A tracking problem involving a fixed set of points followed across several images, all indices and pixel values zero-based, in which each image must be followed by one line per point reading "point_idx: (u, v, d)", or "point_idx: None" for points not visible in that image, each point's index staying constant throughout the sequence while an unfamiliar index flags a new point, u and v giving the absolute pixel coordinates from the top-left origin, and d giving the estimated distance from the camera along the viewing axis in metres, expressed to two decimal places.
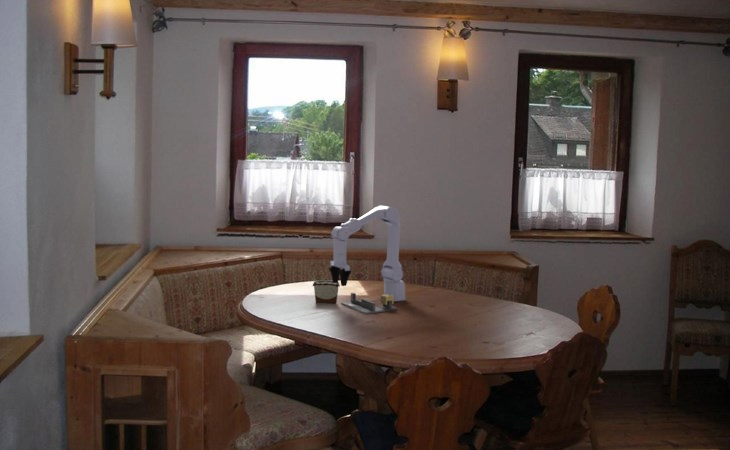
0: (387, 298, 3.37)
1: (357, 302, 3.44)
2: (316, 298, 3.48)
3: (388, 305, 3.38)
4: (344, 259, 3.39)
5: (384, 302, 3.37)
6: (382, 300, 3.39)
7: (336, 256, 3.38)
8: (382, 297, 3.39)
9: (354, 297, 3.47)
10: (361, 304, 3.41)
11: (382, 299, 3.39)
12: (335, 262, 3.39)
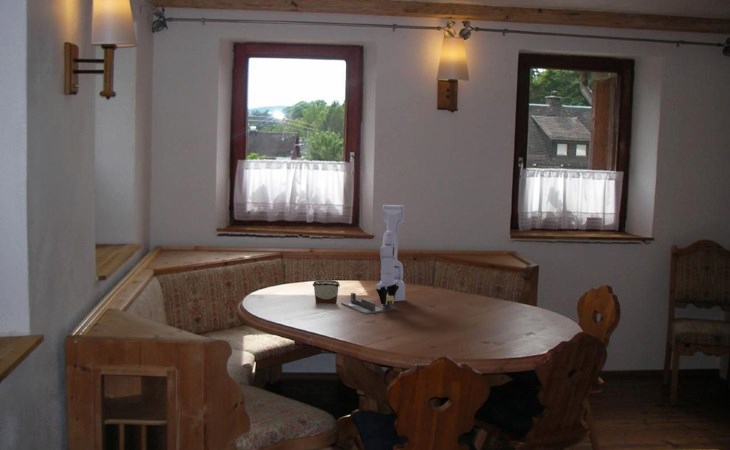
0: (387, 298, 3.37)
1: (357, 302, 3.44)
2: (316, 298, 3.48)
3: (388, 305, 3.38)
4: (385, 278, 3.36)
5: None
6: None
7: (381, 273, 3.38)
8: None
9: (354, 297, 3.47)
10: (361, 304, 3.41)
11: None
12: None
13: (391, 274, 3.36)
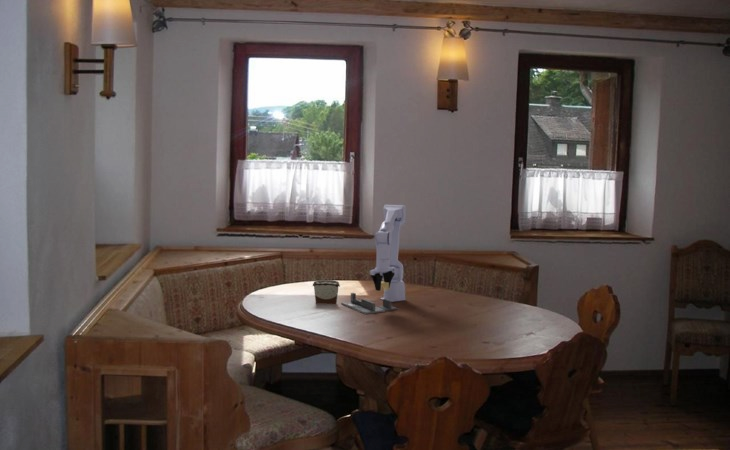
0: (382, 284, 3.35)
1: (357, 302, 3.44)
2: (316, 298, 3.48)
3: (388, 305, 3.38)
4: (380, 264, 3.33)
5: None
6: None
7: None
8: None
9: (354, 297, 3.47)
10: (361, 304, 3.41)
11: None
12: None
13: (386, 260, 3.33)
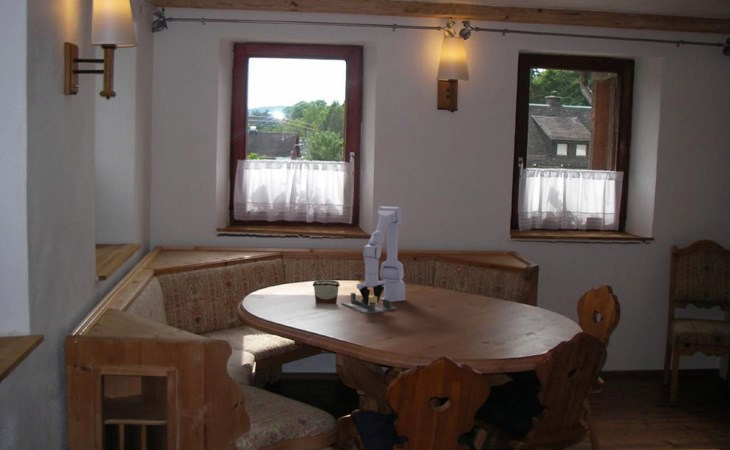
0: (370, 299, 3.32)
1: (357, 302, 3.44)
2: (316, 298, 3.48)
3: (388, 305, 3.38)
4: (367, 278, 3.31)
5: None
6: None
7: None
8: None
9: (354, 297, 3.47)
10: (361, 304, 3.41)
11: None
12: None
13: (374, 274, 3.31)
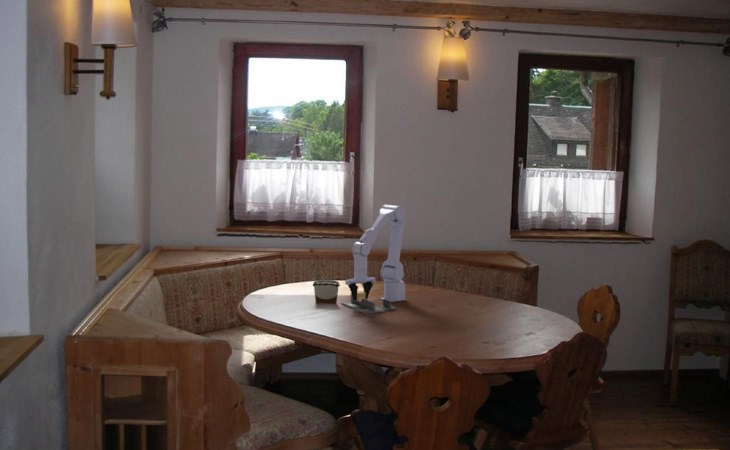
0: (358, 295, 3.40)
1: (357, 302, 3.44)
2: (316, 298, 3.48)
3: (388, 305, 3.38)
4: (356, 274, 3.39)
5: None
6: None
7: None
8: None
9: None
10: (361, 304, 3.41)
11: None
12: None
13: (362, 271, 3.38)
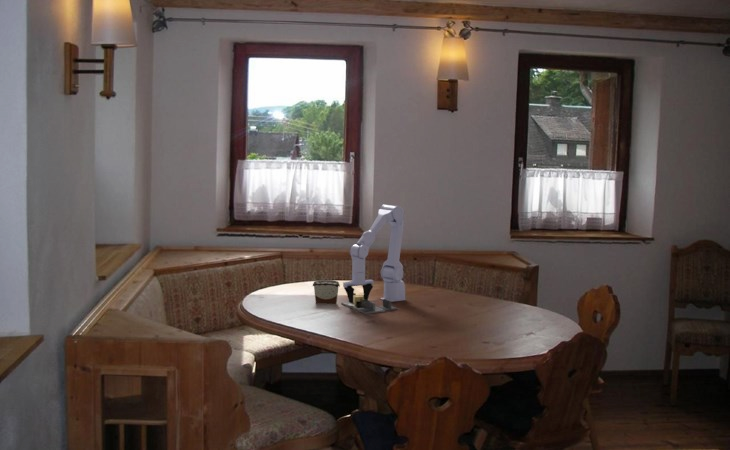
0: (356, 298, 3.42)
1: (357, 302, 3.44)
2: (316, 298, 3.48)
3: (388, 305, 3.38)
4: (354, 277, 3.41)
5: (354, 302, 3.43)
6: (353, 300, 3.44)
7: None
8: (353, 297, 3.44)
9: None
10: (361, 304, 3.41)
11: (353, 299, 3.44)
12: None
13: (360, 273, 3.40)
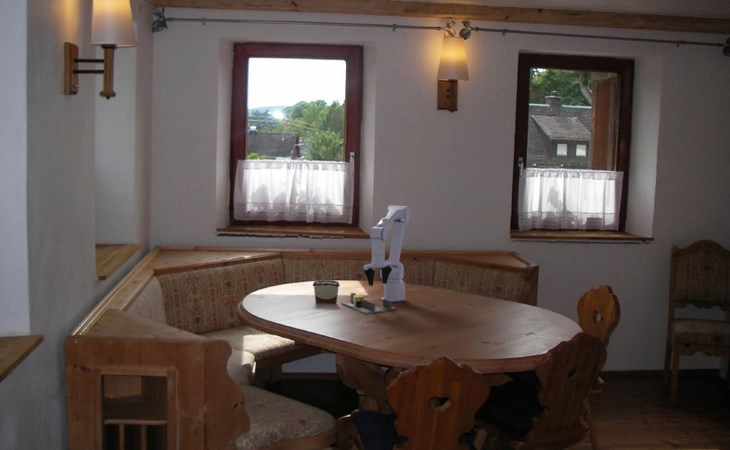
0: (356, 298, 3.42)
1: (357, 302, 3.44)
2: (316, 298, 3.48)
3: (388, 305, 3.38)
4: (374, 259, 3.37)
5: (354, 302, 3.43)
6: (353, 300, 3.44)
7: None
8: (353, 297, 3.44)
9: None
10: (361, 304, 3.41)
11: (353, 299, 3.44)
12: None
13: (380, 256, 3.37)
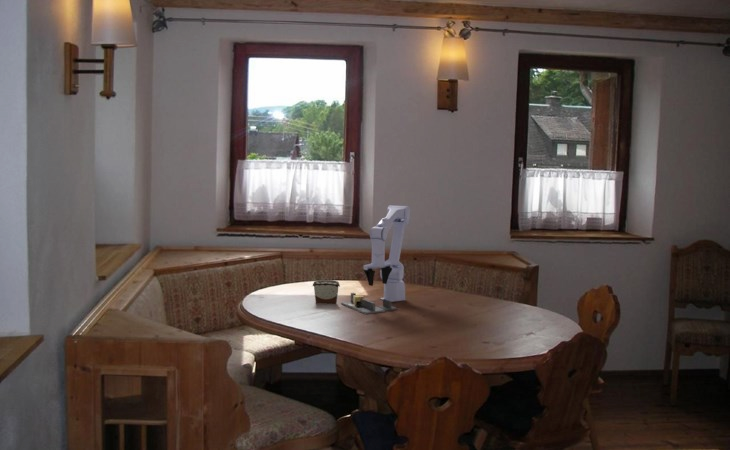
0: (356, 298, 3.42)
1: (357, 302, 3.44)
2: (316, 298, 3.48)
3: (388, 305, 3.38)
4: (374, 259, 3.37)
5: (354, 302, 3.43)
6: (353, 300, 3.44)
7: None
8: (353, 297, 3.44)
9: None
10: (361, 304, 3.41)
11: (353, 299, 3.44)
12: None
13: (380, 256, 3.37)
